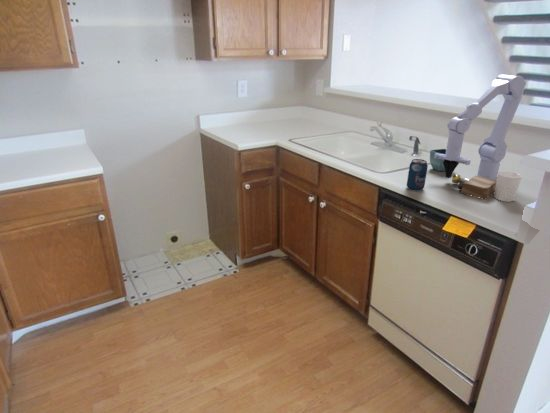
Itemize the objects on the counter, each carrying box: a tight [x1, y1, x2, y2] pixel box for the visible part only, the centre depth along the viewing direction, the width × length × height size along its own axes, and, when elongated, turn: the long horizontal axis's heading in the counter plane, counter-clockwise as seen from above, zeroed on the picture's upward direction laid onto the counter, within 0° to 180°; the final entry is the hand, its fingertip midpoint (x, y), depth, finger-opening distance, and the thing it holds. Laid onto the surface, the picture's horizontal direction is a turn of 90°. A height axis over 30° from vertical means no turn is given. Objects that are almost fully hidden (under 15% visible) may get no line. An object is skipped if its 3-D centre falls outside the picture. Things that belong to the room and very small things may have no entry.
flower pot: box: [429, 148, 446, 172], centre depth 181 cm, size 9×9×9 cm
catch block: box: [460, 175, 497, 200], centre depth 154 cm, size 13×9×4 cm
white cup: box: [493, 170, 523, 203], centre depth 147 cm, size 8×8×10 cm
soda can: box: [406, 158, 429, 192], centre depth 156 cm, size 7×7×12 cm
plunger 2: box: [457, 181, 465, 191], centre depth 154 cm, size 4×10×4 cm, turn 44°
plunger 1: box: [451, 174, 470, 185], centre depth 161 cm, size 4×10×4 cm, turn 44°
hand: (448, 177), depth 166 cm, fingers closed
